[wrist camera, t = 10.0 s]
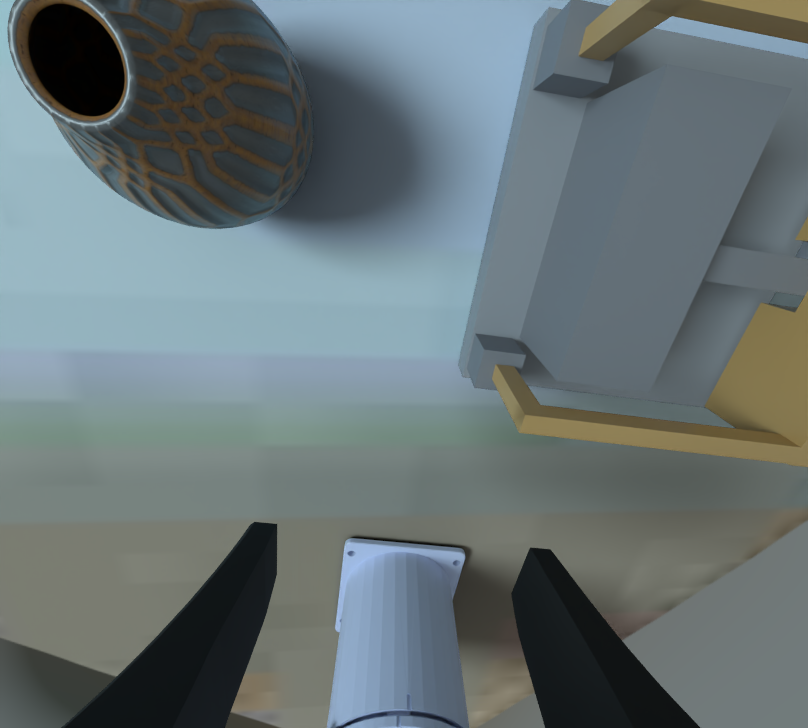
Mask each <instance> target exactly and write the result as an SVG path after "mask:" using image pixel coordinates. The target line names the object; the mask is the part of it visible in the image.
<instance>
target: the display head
mask: <svg viewBox="0 0 808 728" xmlns="http://www.w3.org/2000/svg"><path fill="white" fill-rule="evenodd" d="M608 7H609V6H607V5H602V4H597V3H592V2H587V1H582V0H570V2H569V3H568V4H567V5H566V6H565V7H564V8H563V9H562V10H561V9H556V8H551V7H549V8H548V9H547V10H546V11H545V13H544V14H543V15H542V16H541V18H540V19H539V20H538V21H537V23H536V24H535V25H534V29H533V33H532V38H531V42H530V47H529V51H528V56H527V60H526V65H525V69H524V73H523V78H522V82H521V87H520V91H519V96H518V100H517V105H516V109H515V114H514V118H513V122H512V127H511V131H510V136H509V140H508V145H507V149H506V154H505V158H504V163H503V167H502V171H501V176H500V180H499V185H498V189H497V194H496V198H495V203H494V207H493V212H492V216H491V220H490V225H489V229H488V234H487V238H486V243H485V247H484V252H483V256H482V261H481V265H480V269H479V274H478V278H477V283H476V287H475V292H474V296H473V301H472V305H471V310H470V314H469V318H468V323H467V327H466V332H465V336H464V341H463V345H462V350H461V354H460V359H459V363H458V366H459V368H460V371H461V374H462V377H465V378H471V380H472V383H473V385H474V388H481V389H489V390H497V388H496V386H495V384H494V382H493V380H492V376H493V373H494V369H495V365H496V364H499V365H507V366H514V367H515V368H516V370H517V371H518V373H519V374H520V376H521V377H522V379H523V380H524V382H525V383H526V385H528V386H536V387H544V388H552V389H560V390H568V391H576V392H584V393H592V394H600V395H608V396H616V397H624V398H632V399H640V400H647V401H655V402H663V403H671V404H679V405H687V406H695V407H703V408H706V407H705V404H706V402H707V401H708V399H709V397H710V395H711V393H712V391H713V390H714V388H715V386H716V384H717V382H718V380H719V379H720V377H721V375H722V373H723V371H724V369H725V368H726V366H727V364H728V362H729V360H730V358H731V357H732V355H733V353H734V351H735V349H736V347H737V346H738V344H739V342H740V340H741V338H742V336H743V334H744V333H745V331H746V329H747V327H748V325H749V323H750V322H751V320H752V318H753V316H754V314H755V312H756V311H757V309H758V307H759V305H760V303H767V304H769V303H770V301H771V300H772V298H773V296H774V294H775V292H781V293H787V294H794V295H800V296H805V295H806V293H807V291H808V259H803V258H797V257H795V256H796V255H797V253H798V251H799V249H800V247H801V246H802V244H803V242H804V241H800V240H795V239H796V237H797V235H798V234H799V232H800V230H801V228H802V226H803V224H804V223H805V221H806V219H807V217H808V59H804V58H799V57H794V56H789V55H784V54H779V53H774V52H769V51H764V50H759V49H754V48H749V47H744V46H739V45H734V44H730V43H725V42H720V41H715V40H710V39H705V38H700V37H695V36H690V35H685V34H680V33H675V32H670V31H665V30H660V29H655V28H653V29H651V30H649V31H648V32H646V33H645V34H643V35H642V36H640V37H639V38H637V39H636V40H634V41H633V42H631V43H630V44H628V45H627V46H625V47H624V48H622V49H621V50H619V51H617V52H616V53H614V54H613V55H611V56H610V57H608V58H607V59H605V60H604V61H600V60H595V59H590V58H585V57H579V56H578V55H579V52H580V48H581V44H582V40H583V37H584V33H585V29H586V27H587V26H588V25H589V24H590V23H592V22H593V21H594V20H595V19H596V18H597V17H598V16H599V15H600V14H602V13H603V12H604V11H605V10H606V9H607V8H608ZM497 391H498V390H497Z"/></svg>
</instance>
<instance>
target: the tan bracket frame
mask: <svg viewBox="0 0 808 728" xmlns="http://www.w3.org/2000/svg"><path fill="white" fill-rule="evenodd" d="M671 16H675V17H680V18H685V19H689V20H694V21H699V22H704V23H709V24H714V25H719V26H724V27H729V28H734V29H739V30H744V31H749V32H754V33H758V34H763V35H768V36H773V37H778V38H783V39H788V40H793V41H798V42H803V43H808V0H616V1H615V2H614V3H613V4H612V5H611V6H609V7H608V8H607V9H606V10H605V11H604V12H603V13H602V14H600V15H599V16H598V17H597V18H596V19H595V20H594V21H593V22H592V23H590V24H589V25H588V26H587V27H586V29H585V33H584V37H583V40H582V44H581V48H580V52H579V55H578V56H579V57H585V58H590V59H595V60H600V61H604V60H605V59H607V58H608V57H610V56H611V55H613V54H614V53H616V52H617V51H619V50H621V49H622V48H624V47H625V46H627V45H628V44H630V43H631V42H633V41H634V40H636V39H637V38H639V37H640V36H642V35H643V34H645V33H646V32H648V31H649V30H651V29H653V28H654V27H656V26H657V25H659V24H660V23H662V22H663V21H665V20H666V19H668V18H669V17H671ZM795 240H800V241H806V242H808V217H807V219H806V221H805V223H804V224H803V226H802V228H801V230H800V232H799V234H798V235H797V237H796V239H795ZM492 380H493V382H494V384H495V386H496V388H497V390H498V392H499V394H500V396H501V398H502V400H503V402H504V404H505V406H506V408H507V409H508V411H509V413H510V415H511V417H512V419H513V421H514V423H515V425H516V427H517V429H518V431H519V433H526V434H535V435H544V436H552V437H561V438H570V439H578V440H587V441H596V442H605V443H613V444H622V445H631V446H639V447H648V448H657V449H665V450H674V451H683V452H691V453H700V454H709V455H718V456H726V457H735V458H744V459H752V460H761V461H770V462H778V463H787V464H789V465H794V466H803V467H808V291H807V293H806V295H805V297H804V298H803V300H802V302H801V303H800V305H799V307H798V308H794V307H788V306H781V305H774V304H767V303H760V305H759V307H758V309H757V311H756V312H755V314H754V316H753V318H752V320H751V322H750V323H749V325H748V327H747V329H746V331H745V333H744V334H743V336H742V338H741V340H740V342H739V344H738V346H737V347H736V349H735V351H734V353H733V355H732V357H731V358H730V360H729V362H728V364H727V366H726V368H725V369H724V371H723V373H722V375H721V377H720V379H719V380H718V382H717V384H716V386H715V388H714V390H713V391H712V393H711V395H710V397H709V399H708V401H707V402H706V404H705V407H706V408H707V409H709V410H710V411H712V412H713V413H715V414H716V415H718V416H719V417H720V418H722V419H723V420H725V421H726V422H728V423H729V424H731V425H732V426H733V427H735V428H736V429H734V428H726V427H718V426H709V425H701V424H693V423H684V422H676V421H668V420H660V419H651V418H643V417H635V416H627V415H618V414H610V413H602V412H593V411H585V410H577V409H569V408H560V407H552V406H544V405H540V404H539V402H538V401H537V399H536V398H535V396H534V395H533V393H532V392H531V391H530V389H529V388H528V386H527V385H526V383H525V382H524V380H523V379H522V377H521V376H520V374H519V373H518V371H517V370H516V368H515V367H514V366H507V365H499V364H496V365H495V369H494V373H493V376H492Z"/></svg>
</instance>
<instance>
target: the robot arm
mask: <svg viewBox="0 0 808 728" xmlns="http://www.w3.org/2000/svg"><path fill="white" fill-rule="evenodd" d="M455 560H456V561H455ZM464 561H465V552H464V550H463V549H461V548H454V547H443V546H433V545H422V544H411V543H400V542H389V541H378V540H368V539H357V538H350V539H348V540H347V541H346V542H345V547H344V556H343V565H342V574H341V582H340V591H339V600H338V609H337V618H336V627H335V629H336V631H337V632H339V633H340V634H339V642H338V649H337V657H336V664H335V672H334V679H333V687H332V694H331V701H330V709H329V716H328V724H327V728H469V722H468V714H467V707H466V699H465V692H464V684H463V677H462V669H461V662H460V654H459V647H458V639H457V632H456V624H455V617H454V609H453V602H452V600H453V597H454V594H455V590H456V587H457V584H458V581H459V577H460V574H461V571H462V567H463V564H464ZM276 575H277V524H271V523H260V522H254V523H252V524H251V525H250V526H249V527H248V529H247V530H246V532H245V533H244V534H243V536H242V537H241V539H240V540H239V541H238V543H237V544H236V545H235V547H234V548H233V549H232V550H231V552H230V553H229V554H228V556H227V557H226V558H225V559H224V561H223V562H222V563H221V564H220V566H219V567H218V568H217V569H216V570H215V572H214V573H213V574H212V575H211V576H210V578H209V579H208V580H207V581H206V582H205V583H204V585H203V586H202V587H201V588H200V589H199V591H198V592H197V593H196V594H195V595H194V596H193V598H192V599H191V600H190V601H189V602H188V603H187V604H186V605H185V607H184V608H183V609H182V610H181V611H180V612H179V613H178V614H177V615H176V616H175V617H174V618H173V620H172V621H171V622H170V623H169V624H168V625H167V626H166V627H165V628H164V629H163V630H162V632H161V633H160V634H159V635H158V636H157V637H156V638H155V639H154V640H153V641H152V642H151V643H150V644H149V645H148V646H147V647H146V648H145V649H144V650H143V651H142V652H141V653H140V654H139V655H138V656H137V657H136V658H135V659H134V660H133V661H132V662H131V663H130V664H129V665H128V666H127V667H126V668H125V669H124V670H123V671H122V672H121V673H120V674H119V675H118V676H117V677H116V678H115V679H114V680H113V681H112V682H111V683H110V684H109V685H108V686H107V687H106V688H105V689H103V690H102V691H101V692H100V693H99V694H98V695H97V696H96V697H95V698H94V699H93V700H91V701H90V702H89V703H88V704H87V705H86V706H85V707H84V708H83V709H82V710H81V711H79V712H78V713H77V714H76V715H75V716H74V717H73V718H72V719H71V720H70V721H69V722H67V723H66V724H65V725H64V726H63V727H62V728H225V726H226V723H227V720H228V717H229V714H230V711H231V709H232V706H233V703H234V701H235V698H236V695H237V692H238V690H239V687H240V684H241V682H242V679H243V676H244V674H245V671H246V668H247V665H248V663H249V660H250V657H251V655H252V652H253V649H254V646H255V644H256V641H257V638H258V636H259V633H260V630H261V627H262V625H263V622H264V619H265V616H266V613H267V609H268V605H269V602H270V598H271V594H272V591H273V587H274V583H275V579H276ZM512 600H513V606H514V612H515V618H516V623H517V629H518V634H519V638H520V641H521V645H522V649H523V652H524V656H525V659H526V663H527V666H528V670H529V673H530V677H531V680H532V684H533V687H534V690H535V694H536V697H537V701H538V704H539V708H540V711H541V715H542V717H543V721H544V725H545V728H700V727H699V726H698V725H697V724H696V723H695V722H694V721H693V720H692V718H691V717H690V716H689V715H688V714H687V713H686V712H685V711H684V710H683V709H682V708H681V707H680V706H679V705H678V704H677V703H676V702H675V701H674V700H673V698H672V697H671V696H670V695H669V694H668V693H667V692H666V691H665V690H664V689H663V688H662V687H661V686H660V684H659V683H658V682H657V681H656V680H655V679H654V678H653V677H652V675H651V674H650V673H649V672H648V671H647V670H646V668H645V667H644V666H643V665H642V664H641V663H640V662H639V660H638V659H637V658H636V657H635V656H634V655H633V653H632V652H631V651H630V650H629V649H628V648H627V646H626V645H625V644H624V643H623V642H622V640H621V639H620V638H619V637H618V636H617V634H616V633H615V632H614V631H613V629H612V628H611V627H610V626H609V624H608V623H607V622H606V621H605V619H604V618H603V617H602V616H601V614H600V613H599V612H598V611H597V609H596V608H595V607H594V606H593V604H592V603H591V602H590V600H589V599H588V598H587V597H586V595H585V594H584V593H583V591H582V590H581V589H580V587H579V586H578V585H577V584H576V582H575V581H574V580H573V578H572V577H571V576H570V574H569V573H568V572H567V570H566V569H565V568H564V566H563V565H562V564H561V563H560V561H559V560H558V559H557V557H556V556H555V555H554V553H553V552H552V551H551V550H550V549H540V548H530V549H529V552H528V554H527V556H526V559H525V561H524V564H523V566H522V569H521V571H520V574H519V576H518V579H517V581H516V584H515V586H514V589H513V591H512Z"/></svg>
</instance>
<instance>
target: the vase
mask: <svg viewBox="0 0 808 728" xmlns="http://www.w3.org/2000/svg"><path fill="white" fill-rule="evenodd" d="M8 42H9V48H10V53H11V56H12V59H13V62H14V65H15V67H16V70H17V72H18V74H19V76H20V78H21V80H22V82H23V83H24V85H25V87H26V88H27V90H28V91H29V93H30V94H31V95H32V96H33V98H34V99H35V100H36V101H37V102H38V103H39V105H40V106H41V107H42V108H43V109H44V110H45V111H46V112H48V113H49V114H50V115H51V116H52V118H53V119H54V121H55V123H56V125H57V127H58V128H59V130H60V132H61V133H62V135H63V137H64V138H65V139H66V141H67V142H68V144H69V145H70V147H71V148H72V149H73V151H74V152H75V153H76V154H77V156H78V157H79V158H80V159H81V160H82V161H83V162H84V164H85V165H86V166H87V167H88V168H89V169H90V170H91V171H92V172H93V173H94V174H95V175H96V176H97V177H98V178H99V179H100V180H101V181H103V182H104V183H105V184H106V185H107V186H109V187H110V188H111V189H113V190H114V191H115V192H117V193H118V194H119V195H121V196H122V197H124V198H125V199H127V200H128V201H130V202H132V203H134V204H135V205H137V206H139V207H141V208H142V209H144V210H146V211H148V212H151V213H153V214H155V215H157V216H160V217H162V218H165V219H167V220H171V221H174V222H177V223H180V224H184V225H188V226H193V227H200V228H209V229H223V228H234V227H239V226H243V225H247V224H251V223H254V222H257V221H259V220H261V219H263V218H266V217H267V216H269V215H271V214H273V213H274V212H276V211H277V210H279V209H280V208H281V207H282V206H284V205H285V204H286V203H287V202H288V201H289V200H290V199H291V197H292V196H293V195H294V194H295V192H296V191H297V189H298V188H299V186H300V184H301V183H302V181H303V179H304V176H305V174H306V172H307V169H308V166H309V163H310V159H311V154H312V149H313V138H314V123H313V113H312V106H311V102H310V97H309V93H308V90H307V86H306V84H305V81H304V78H303V76H302V73H301V71H300V69H299V66H298V64H297V62H296V60H295V58H294V56H293V54H292V52H291V51H290V49H289V47H288V46H287V44H286V42H285V41H284V39H283V38H282V36H281V35H280V33H279V32H278V30H277V29H276V27H275V26H274V25H273V24H272V22H271V21H270V20H269V18H268V17H267V16H266V15H265V14H264V13H263V12H262V10H261V9H260V8H259V7H258V6H257V5H256V4H255V3H254V2H253V1H252V0H15V2H14V4H13V6H12V8H11V11H10V15H9V20H8Z"/></svg>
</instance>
